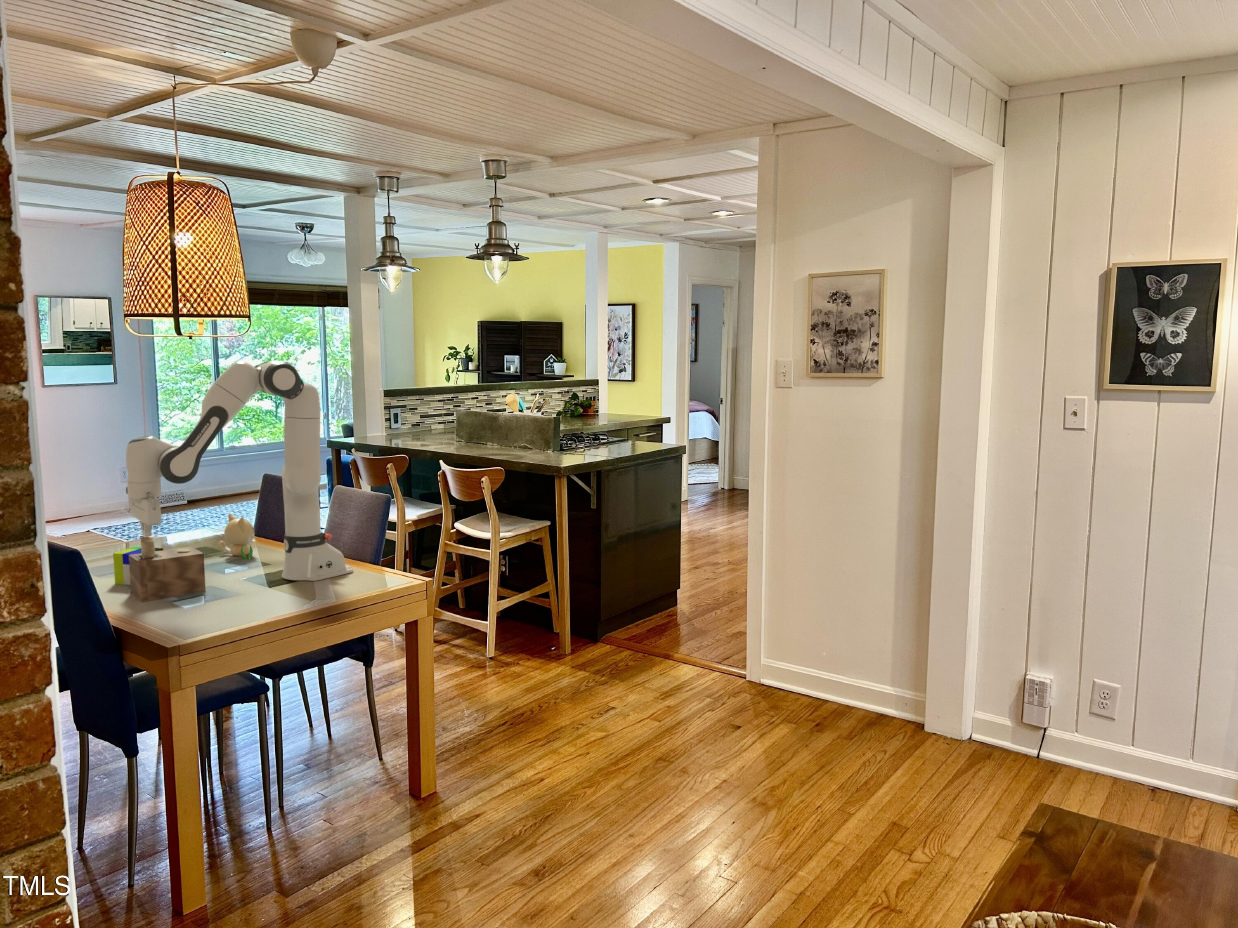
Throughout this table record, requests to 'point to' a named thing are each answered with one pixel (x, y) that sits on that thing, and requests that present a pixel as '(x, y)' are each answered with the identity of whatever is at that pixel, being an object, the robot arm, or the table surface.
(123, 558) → the puzzle toy
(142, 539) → the peg
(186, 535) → the table surface
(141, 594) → the walnut block
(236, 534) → the kitten
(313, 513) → the robot arm
